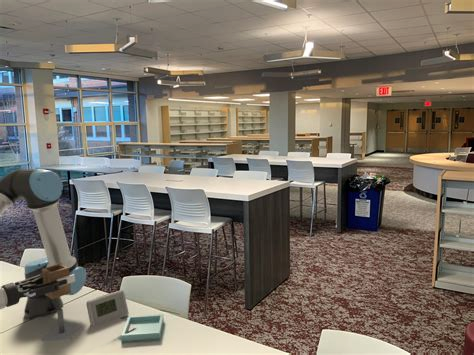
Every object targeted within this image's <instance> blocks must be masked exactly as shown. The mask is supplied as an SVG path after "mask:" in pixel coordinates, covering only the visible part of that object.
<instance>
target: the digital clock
mask: <svg viewBox="0 0 474 355" xmlns="http://www.w3.org/2000/svg"><path fill="white" fill-rule="evenodd" d="M126 299H127V298H126V293H125V291H124V289H121V290H120V289H119V290H117V291H113V292H110V293H107V294H103V295H100V296H97V297H95V298H92V299H89V300H88V301H86V304H85V305H86V310H87V314H88V319H89V324H90V326H91V327H96V326H98V325H101V324H104V323H106V322H109V321H111V320H114V319H117V318H120V319H122V318H125V317H128V316H129V313H130V312H129V307H128V304H127V300H126Z"/></svg>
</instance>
